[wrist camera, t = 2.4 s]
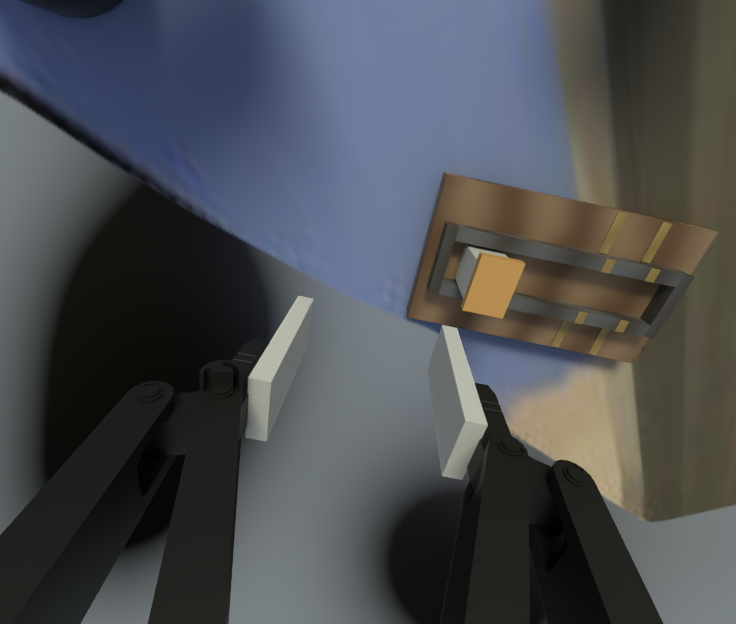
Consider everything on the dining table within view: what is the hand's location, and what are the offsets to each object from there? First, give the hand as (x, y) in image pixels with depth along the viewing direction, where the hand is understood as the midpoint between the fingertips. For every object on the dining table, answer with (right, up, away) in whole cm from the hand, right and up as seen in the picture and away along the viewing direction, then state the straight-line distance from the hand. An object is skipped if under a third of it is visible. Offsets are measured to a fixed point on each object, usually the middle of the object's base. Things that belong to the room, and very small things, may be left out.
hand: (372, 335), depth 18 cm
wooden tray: (+17, +5, +17) cm, 25 cm away
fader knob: (+10, +6, +15) cm, 19 cm away
